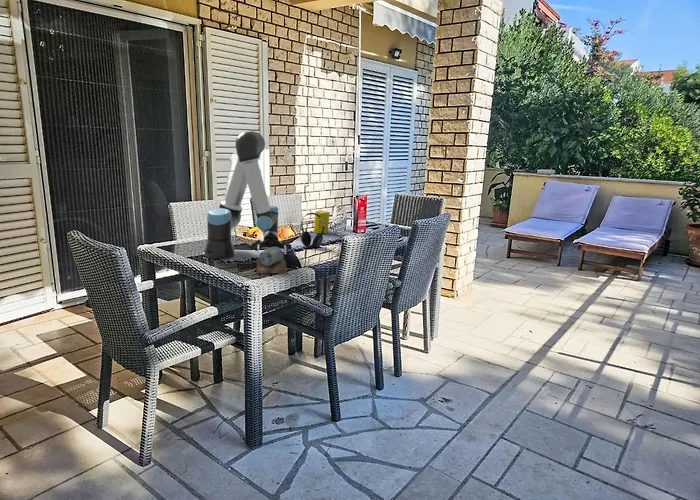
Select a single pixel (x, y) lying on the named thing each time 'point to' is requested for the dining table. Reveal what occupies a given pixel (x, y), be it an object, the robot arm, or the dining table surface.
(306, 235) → the headphones
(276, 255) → the grey rounded cylinder
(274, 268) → the stand
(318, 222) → the food
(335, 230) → the dining table surface
